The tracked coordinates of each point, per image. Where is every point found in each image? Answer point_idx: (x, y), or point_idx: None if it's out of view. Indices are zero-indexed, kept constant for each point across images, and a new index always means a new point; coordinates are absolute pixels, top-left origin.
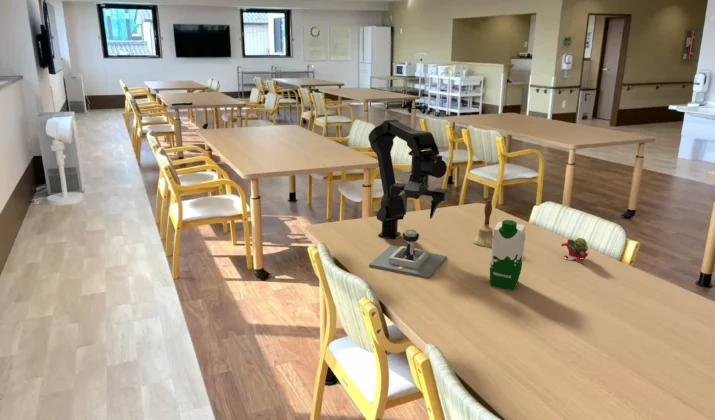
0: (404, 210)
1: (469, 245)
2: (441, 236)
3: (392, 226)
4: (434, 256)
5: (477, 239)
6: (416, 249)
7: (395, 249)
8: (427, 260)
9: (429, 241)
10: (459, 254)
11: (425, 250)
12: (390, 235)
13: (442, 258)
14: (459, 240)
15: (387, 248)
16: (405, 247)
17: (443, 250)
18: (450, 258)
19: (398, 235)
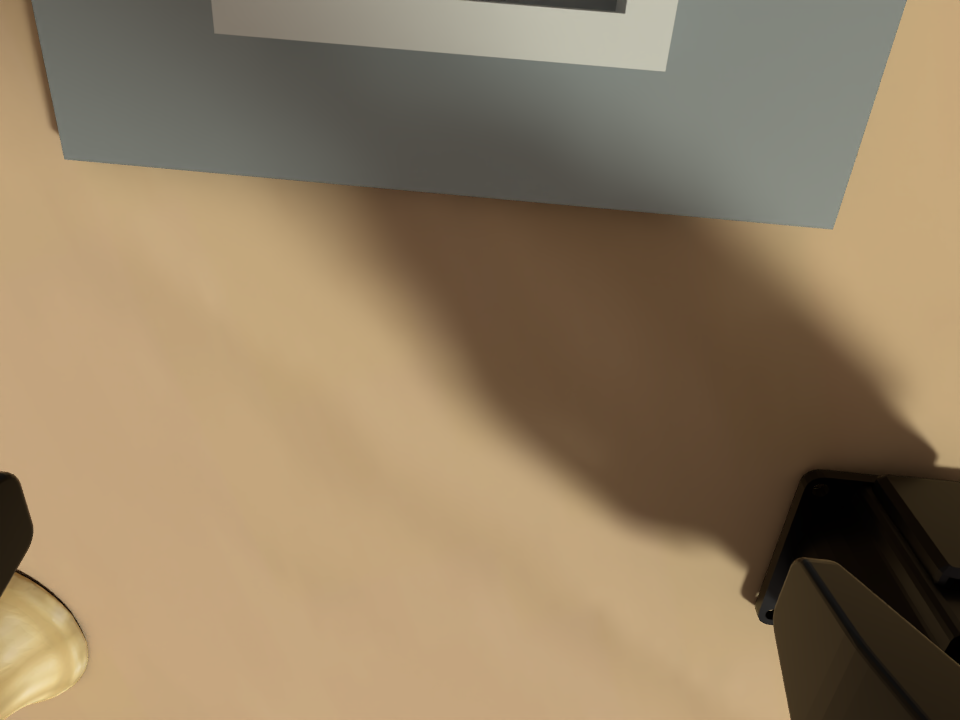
0: (881, 657)
1: (61, 543)
2: (364, 651)
3: (897, 604)
4: (180, 71)
5: (2, 626)
6: (400, 16)
7: (746, 108)
8: None
9: (427, 525)
10: (22, 311)
11: (262, 35)
12: (869, 500)
13: (64, 44)
14: (188, 615)
15: (870, 101)
16: (588, 32)
17: (212, 357)
18: (42, 160)
19: (771, 563)
